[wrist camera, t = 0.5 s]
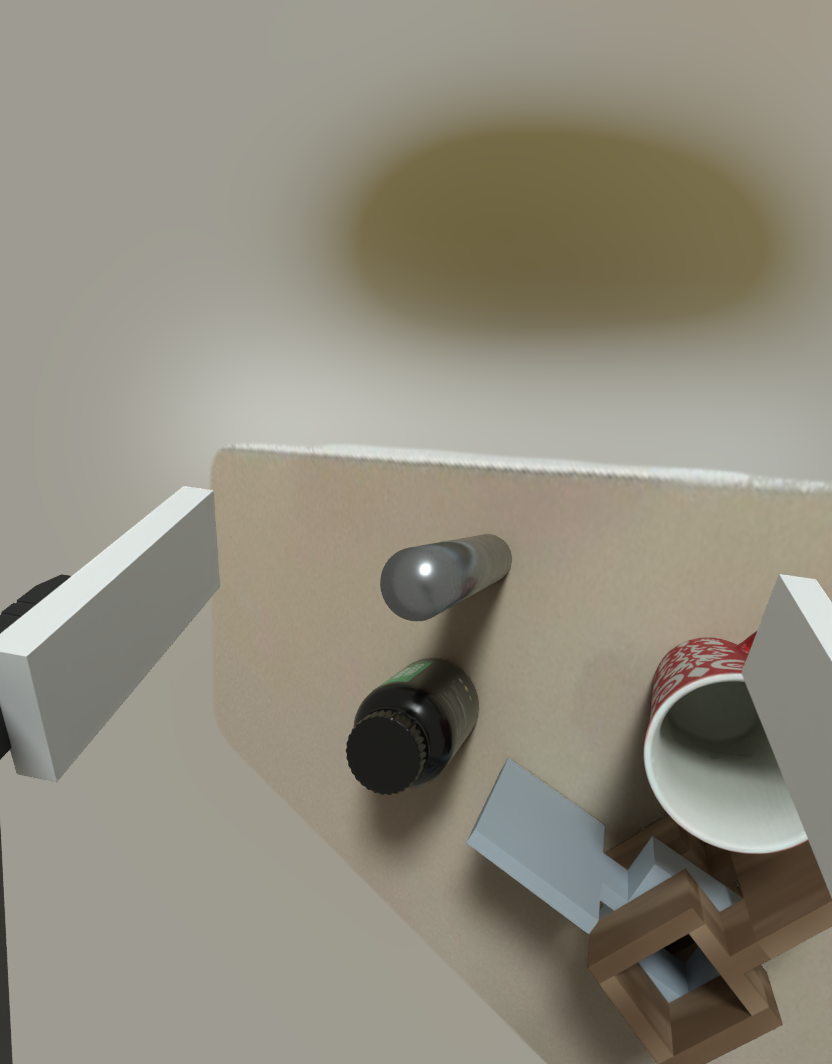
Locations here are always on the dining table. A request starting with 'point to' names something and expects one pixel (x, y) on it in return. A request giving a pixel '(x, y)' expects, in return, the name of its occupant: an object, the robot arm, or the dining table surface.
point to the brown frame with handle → (707, 943)
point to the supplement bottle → (412, 726)
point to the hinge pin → (442, 574)
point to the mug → (716, 752)
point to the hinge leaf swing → (584, 867)
